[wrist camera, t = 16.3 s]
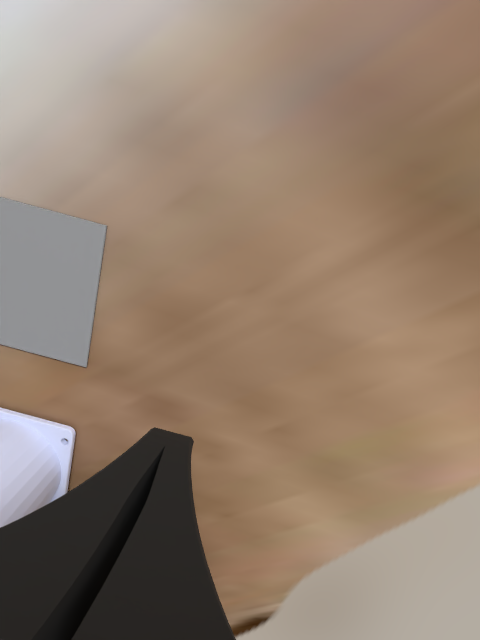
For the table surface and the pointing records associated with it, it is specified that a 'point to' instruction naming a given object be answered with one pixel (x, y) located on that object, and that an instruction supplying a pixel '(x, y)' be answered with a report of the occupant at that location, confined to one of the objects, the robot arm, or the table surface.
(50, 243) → the mat
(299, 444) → the table surface
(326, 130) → the table surface
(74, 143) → the table surface
